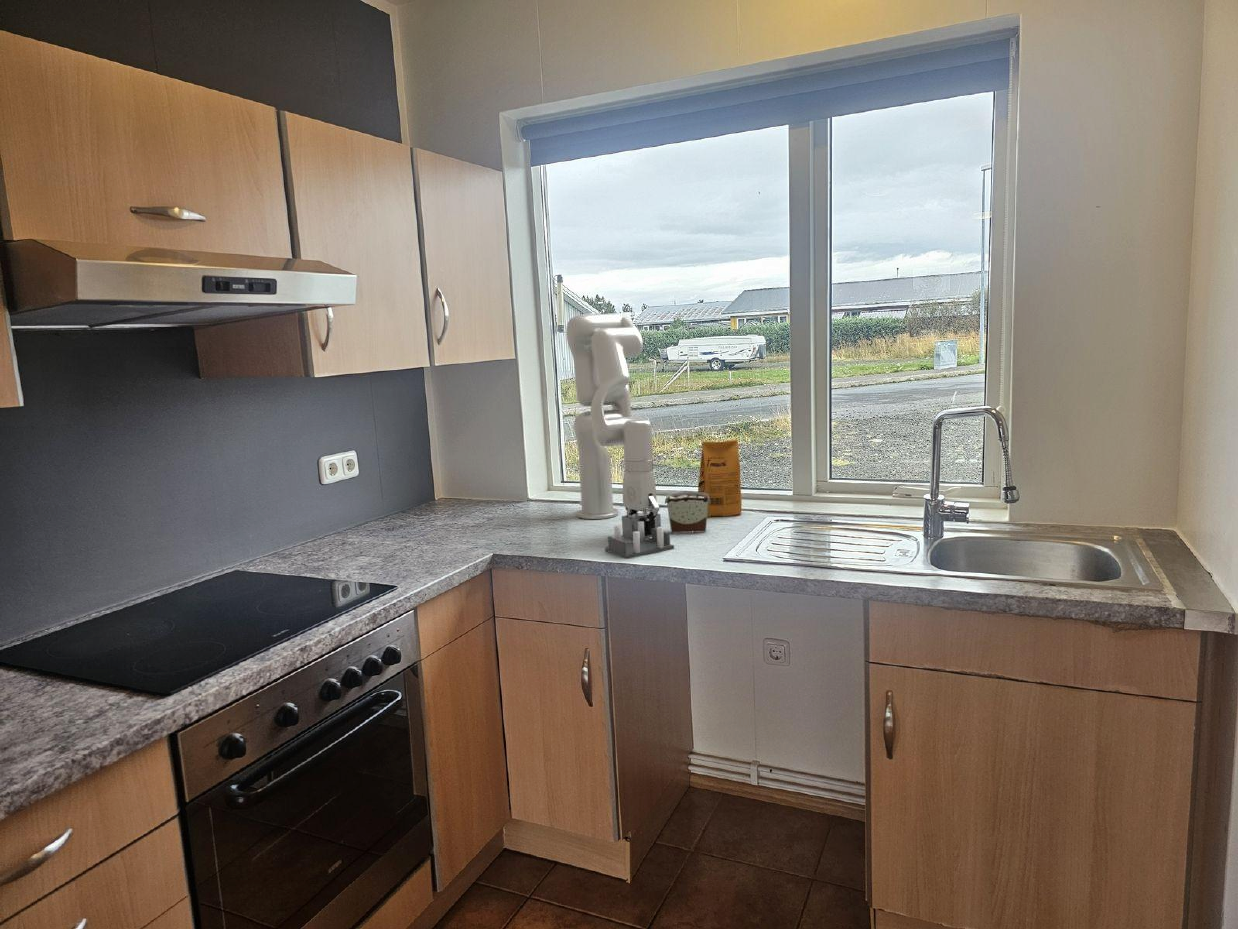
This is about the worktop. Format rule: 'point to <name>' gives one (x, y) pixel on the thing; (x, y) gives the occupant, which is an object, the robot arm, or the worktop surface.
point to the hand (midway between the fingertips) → (641, 532)
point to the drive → (635, 524)
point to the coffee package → (721, 477)
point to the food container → (687, 511)
